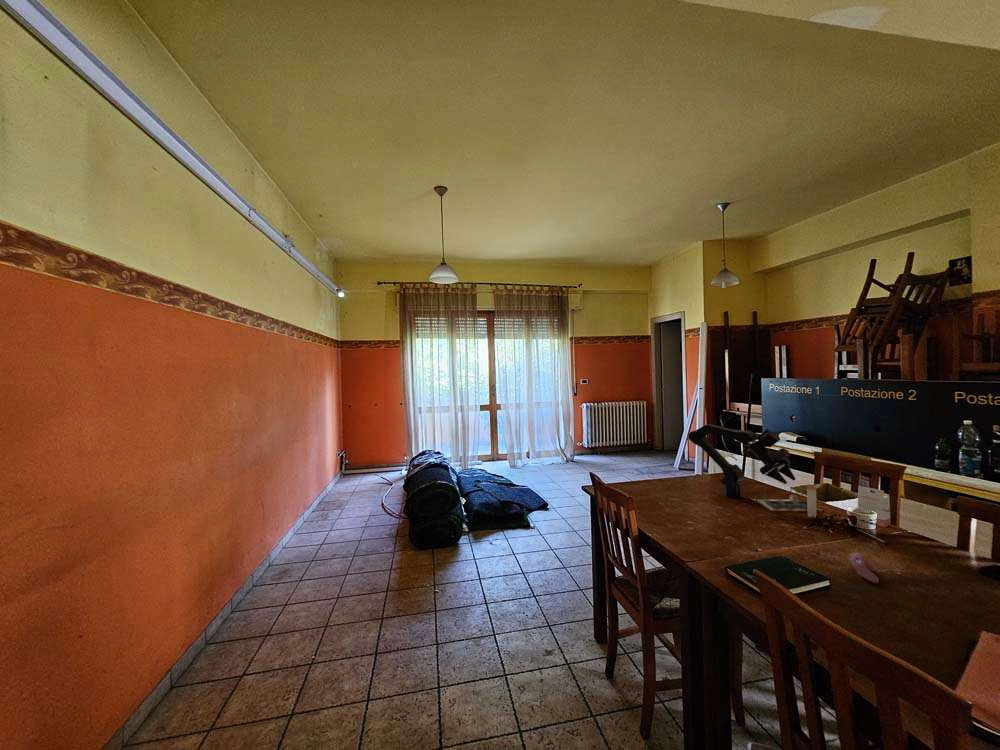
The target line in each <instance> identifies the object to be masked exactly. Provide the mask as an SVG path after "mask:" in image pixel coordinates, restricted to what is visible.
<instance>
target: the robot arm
mask: <svg viewBox="0 0 1000 750" xmlns="http://www.w3.org/2000/svg"><path fill="white" fill-rule="evenodd" d="M710 433H711V434H715V435H719V436H723V437H727V438H730V439H733V440H734V441H736V442H738V443H741V444H744V451H745V452H748V451H751V452H752V453H753V454H754V455H755V457H756V458H757V461H758V462H762V464H763V466H762V467H760V468H759V472H760V473H761V475H763V476H766V477H769V478H771V479H773V480H776V481H777V482H779V483H782V484H784V485H787V484H788V481H787V480H786V479H785V477H784V476H786V477H787V478H789V479H790V480H792V481H796V477H795V476H794V473H793V471H792V470H791V468H790V467H791V460H790V459H789V457H791V456H790V451H789V450H788V449H786V448H780V449H779V450H778V451H777V452H774V451H773V450H769V449H768V448H771V447H773V446H775V444H777V443H778V442H779V441H781V438H780V436H779V435H778V434H777V433H775V432H774V431H772V430H770V429H767V428H766V429H765V430H764V431H763V432H762V433H760V434H757V433H754V432H753V431H752V430H744V429H733V428H727V427H723V426H718V425H715V424H713V423H712V424H711V423H707V424H704V425H703V426H701V427H700V428H697V429H696V430H692V431H689V433H688V435H687V436H688V437H687V438H688V440H689V441H690V442H691V443H693V444H694V445H696V446H697V447H700V448H701V449H702V450H703V451H704V452H705V453H706V454H707V455H708V457H710V458H711V460H713V461H714V463H715V464H716V465H717V466H718V467H719V468H720V469H721V471H722V474H723V478H722V479H721V480H720V481H721V484H722V485H723V492H721V494H722V495H723V496H725V497H726V498H728V499H729V498H730V499H731V498H733V499H738V498H739V499H742V496H741V486H740V484H741V483H742V481H743V480H744V479H745V473H744V470H743V469H741V468H740V466H739V465H738V464H731V463H730V462H729V461H728V460H727V459H726V458H725V457H724V456H723V455H722V454H721V453H720V452H719V451H718V450H717V449H716V448H715V447H714V446H713V445H712V444H711V443H710V442H709V439H708V437H707V436H708V435H709V434H710ZM749 443H750V444H749ZM745 444H746V445H745ZM783 475H784V476H783Z"/></svg>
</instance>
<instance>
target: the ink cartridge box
mask: <svg viewBox="0 0 1000 750" xmlns="http://www.w3.org/2000/svg"><path fill="white" fill-rule="evenodd" d="M857 491H858V492H857V509H858V508H864V509H868V510H870V511H874V512H876V513H877V524H878V525H877V526H878V527H882V528H887V527H886V525H885V524H887V525H889V526H890V525H891V503H890V495H889V496H888V495H885V491H884V490H882V489H878V488H872V487H868V486H862V485H858V487H857ZM871 491H872V492H871Z"/></svg>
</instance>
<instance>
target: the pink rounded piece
mask: <svg viewBox="0 0 1000 750" xmlns="http://www.w3.org/2000/svg"><path fill="white" fill-rule="evenodd" d="M849 555H850V557H849V561H850V562H851V564H852V565H853V568H854V570H855V571H856V572H857V574H858V575H859V576H861V577H862V578H864V579H866V580H867V581H869V582H870V583H871V582H872V583H873V584H878V583H879V582H880V579H879V577H878V576H877V575H876V574H875V573H874V571H875V566H874V564H872V563H871V562H870V561H868V560H867V559H866V558H865V557H863V555H862V554H861V553H859V552H852V553H850V554H849Z"/></svg>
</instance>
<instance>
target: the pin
mask: <svg viewBox="0 0 1000 750" xmlns="http://www.w3.org/2000/svg"><path fill="white" fill-rule="evenodd" d="M806 496H807V497H806V498H807V499H806V501H807V511H806V512H807V516H808V517H809V518H812V517H811V516H816V515H817V486H815V485H810V484H808V485H806Z"/></svg>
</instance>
